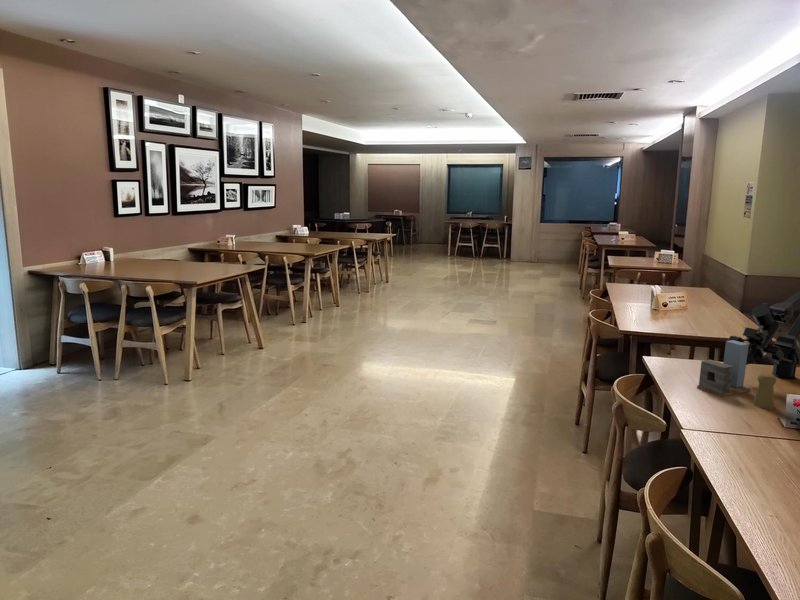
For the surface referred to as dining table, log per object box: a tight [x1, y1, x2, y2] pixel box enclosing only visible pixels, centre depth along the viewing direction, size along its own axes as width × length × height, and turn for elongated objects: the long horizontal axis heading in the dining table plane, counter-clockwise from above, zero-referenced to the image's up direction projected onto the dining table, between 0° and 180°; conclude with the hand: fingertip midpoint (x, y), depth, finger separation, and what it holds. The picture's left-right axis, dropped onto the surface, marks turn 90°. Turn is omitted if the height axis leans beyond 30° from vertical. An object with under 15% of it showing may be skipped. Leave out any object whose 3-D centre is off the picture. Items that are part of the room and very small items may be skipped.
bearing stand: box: [696, 359, 751, 398], centre depth 209 cm, size 16×10×11 cm, turn 116°
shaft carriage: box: [714, 340, 749, 388], centre depth 209 cm, size 11×6×16 cm, turn 116°
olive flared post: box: [752, 373, 777, 410], centre depth 194 cm, size 6×6×11 cm
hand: (742, 365), depth 213 cm, fingers closed
